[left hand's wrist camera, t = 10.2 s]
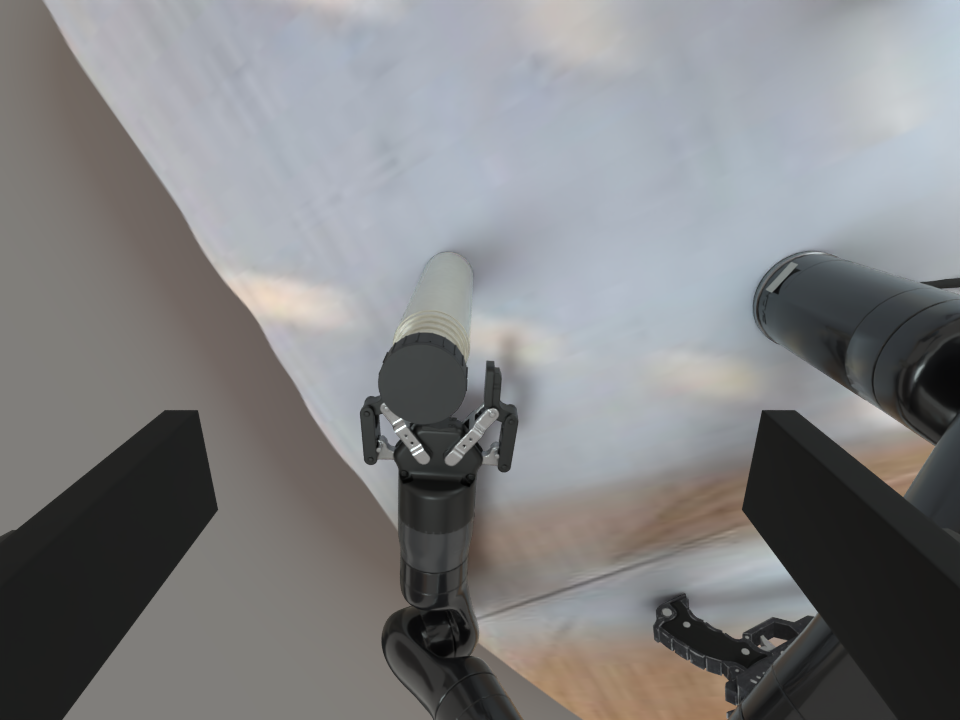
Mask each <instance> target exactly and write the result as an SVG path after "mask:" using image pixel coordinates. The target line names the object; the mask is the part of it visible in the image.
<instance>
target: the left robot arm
mask: <svg viewBox="0 0 960 720" xmlns="http://www.w3.org/2000/svg"><path fill="white" fill-rule="evenodd" d="M217 510H218V507H217V503H216V497H215V492H214V487H213V483H212V478H211V473H210V468H209V463H208V458H207V453H206V448H205V443H204V438H203V433H202V428H201V423H200V419H199V413H198V410H165V411H164V412H162V413H161V414H160V415H158V416H157V417H156V418H155V419H154V420H152V421H151V422H150V423H149V424H147V425H146V426H145V427H144V428H142V429H141V430H140V431H139V432H137V433H136V434H135V435H134V436H132V437H131V438H130V439H129V440H128V441H126V442H125V443H124V444H123V445H121V446H120V447H119V448H117V449H116V450H115V451H114V452H113V453H111V454H110V455H109V456H108V457H106V458H105V459H104V460H103V461H101V462H100V463H99V464H98V465H97V466H95V467H94V468H93V469H91V470H90V471H89V472H88V473H86V474H85V475H84V476H83V477H82V478H80V479H79V480H78V481H77V482H75V483H74V484H73V485H72V486H70V487H69V488H68V489H67V490H65V491H64V492H63V493H62V494H60V495H59V496H58V497H57V498H55V499H54V500H53V501H52V502H50V503H49V504H48V505H47V506H46V507H44V508H43V509H42V510H41V511H39V512H38V513H37V514H36V515H34V516H33V517H32V518H31V519H29V520H28V521H27V522H26V523H24V524H23V525H22V526H21V527H19V528H18V529H17V530H12V531H10V532H8V533H6V534H4V535H2V536H0V720H62V719H63V718H64V717H65V715H66V714H67V713H68V711H69V710H70V709H71V707H72V706H73V705H74V703H75V702H76V701H77V699H78V698H79V696H80V695H81V694H82V692H83V691H84V690H85V688H86V687H87V686H88V684H89V683H90V682H91V680H92V679H93V678H94V676H95V675H96V674H97V672H98V671H99V670H100V668H101V667H102V665H103V664H104V663H105V661H106V660H107V659H108V657H109V656H110V655H111V653H112V652H113V651H114V649H115V648H116V647H117V645H118V644H119V643H120V641H121V640H122V638H123V637H124V636H125V634H126V633H127V632H128V630H129V629H130V628H131V626H132V625H133V624H134V622H135V621H136V620H137V618H138V617H139V616H140V614H141V613H142V611H143V610H144V609H145V607H146V606H147V605H148V603H149V602H150V601H151V599H152V598H153V597H154V595H155V594H156V593H157V591H158V590H159V589H160V587H161V586H162V585H163V583H164V582H165V581H166V579H167V578H168V576H169V575H170V574H171V572H172V571H173V570H174V568H175V567H176V566H177V564H178V563H179V562H180V560H181V559H182V558H183V556H184V555H185V553H186V552H187V551H188V549H189V548H190V547H191V545H192V544H193V543H194V541H195V540H196V539H197V537H198V536H199V535H200V533H201V532H202V531H203V529H204V528H205V527H206V525H207V524H208V523H209V521H210V520H211V519H212V517H213V516H214V514H215V513H216V512H217ZM742 510H743V512H744V513H745V514H746V516H747V517H748V519H749V520H750V521H751V523H752V524H753V525H754V527H755V528H756V529H757V531H758V532H759V533H760V535H761V536H762V537H763V539H764V540H765V541H766V543H767V544H768V545H769V547H770V548H771V550H772V551H773V552H774V554H775V555H776V556H777V558H778V559H779V560H780V562H781V563H782V564H783V566H784V567H785V568H786V570H787V571H788V572H789V574H790V575H791V576H792V578H793V579H794V581H795V582H796V583H797V585H798V586H799V587H800V589H801V590H802V591H803V593H804V594H805V595H806V597H807V598H808V599H809V601H810V602H811V603H812V605H813V606H814V608H815V609H816V610H817V612H818V613H819V614H820V616H821V617H822V618H823V620H824V621H825V622H826V624H827V625H828V626H829V628H830V629H831V630H832V632H833V633H834V634H835V636H836V637H837V639H838V640H839V641H840V643H841V644H842V645H843V647H844V648H845V649H846V651H847V652H848V653H849V655H850V656H851V657H852V659H853V660H854V661H855V663H856V664H857V665H858V667H859V668H860V670H861V671H862V672H863V674H864V675H865V676H866V678H867V679H868V680H869V682H870V683H871V684H872V686H873V687H874V688H875V690H876V691H877V692H878V694H879V695H880V696H881V698H882V699H883V701H884V702H885V703H886V705H887V706H888V707H889V709H890V710H891V711H892V713H893V714H894V715H895V717H896V718H897V719H898V720H960V534H958V533H956V532H955V531H953V530H951V529H949V528H941V527H939V526H938V525H937V524H936V523H934V522H933V521H932V520H931V519H929V518H928V517H927V516H926V515H924V514H923V513H922V512H921V511H919V510H918V509H917V508H916V507H915V506H913V505H912V504H911V503H910V502H908V501H907V500H906V499H905V498H903V497H902V496H901V495H900V494H898V493H897V492H896V491H895V490H893V489H892V488H891V487H890V486H888V485H887V484H886V483H885V482H883V481H882V480H881V479H880V478H879V477H877V476H876V475H875V474H874V473H872V472H871V471H870V470H869V469H867V468H866V467H865V466H864V465H862V464H861V463H860V462H859V461H857V460H856V459H855V458H854V457H852V456H851V455H850V454H849V453H847V452H846V451H845V450H844V449H842V448H841V447H840V446H839V445H838V444H836V443H835V442H834V441H833V440H831V439H830V438H829V437H828V436H826V435H825V434H824V433H823V432H821V431H820V430H819V429H818V428H816V427H815V426H814V425H813V424H811V423H810V422H809V421H808V420H806V419H805V418H804V417H803V416H802V415H800V414H799V413H798V412H797V411H795V410H762V413H761V418H760V423H759V428H758V433H757V438H756V443H755V448H754V453H753V458H752V463H751V468H750V473H749V478H748V483H747V487H746V492H745V497H744V502H743V507H742Z"/></svg>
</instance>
